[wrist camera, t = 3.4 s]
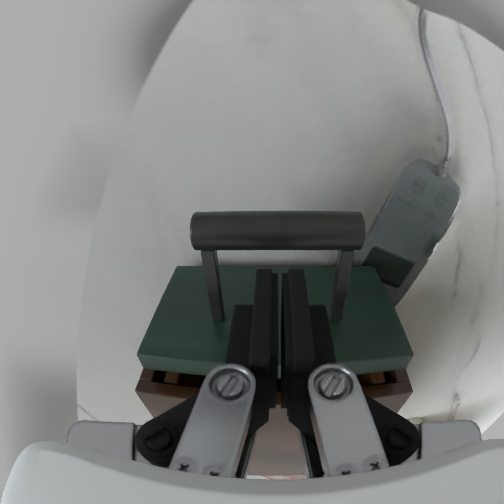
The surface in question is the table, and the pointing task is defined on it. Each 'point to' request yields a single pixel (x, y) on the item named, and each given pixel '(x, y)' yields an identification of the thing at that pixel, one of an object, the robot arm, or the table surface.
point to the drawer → (243, 288)
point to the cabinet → (278, 427)
